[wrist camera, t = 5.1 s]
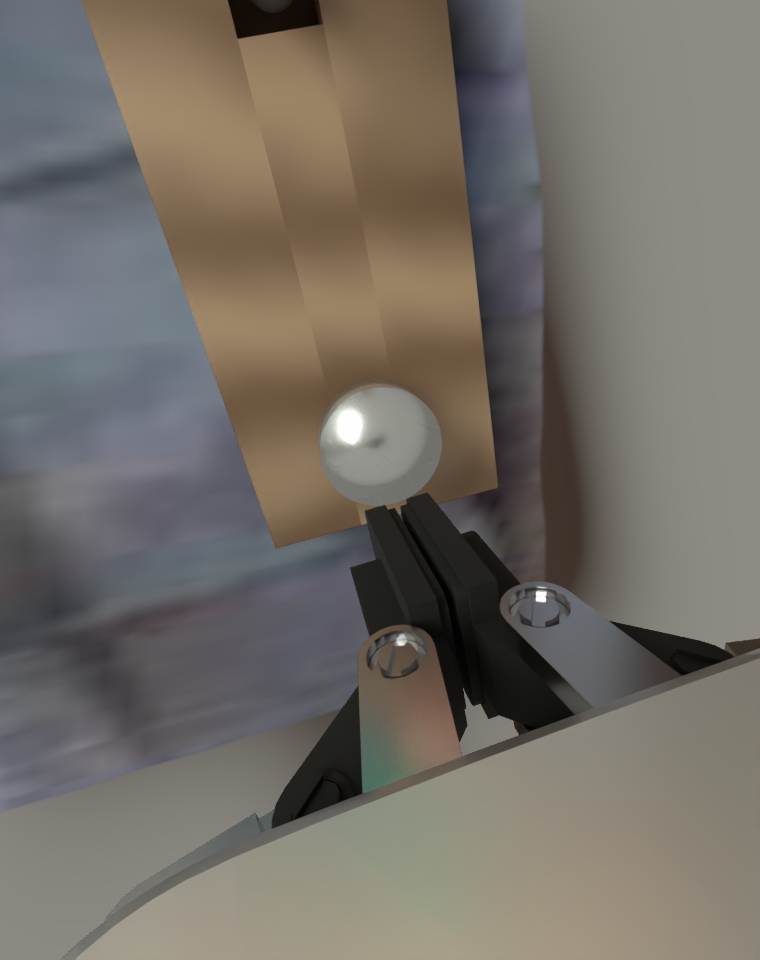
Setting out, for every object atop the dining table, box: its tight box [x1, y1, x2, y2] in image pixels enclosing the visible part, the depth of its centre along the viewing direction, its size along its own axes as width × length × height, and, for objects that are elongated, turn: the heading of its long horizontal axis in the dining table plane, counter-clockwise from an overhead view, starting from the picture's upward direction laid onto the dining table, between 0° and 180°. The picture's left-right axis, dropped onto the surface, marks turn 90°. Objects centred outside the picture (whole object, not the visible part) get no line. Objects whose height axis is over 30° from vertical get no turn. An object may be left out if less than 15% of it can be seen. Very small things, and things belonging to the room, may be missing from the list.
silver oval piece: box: [317, 379, 442, 506], centre depth 22 cm, size 5×5×7 cm
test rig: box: [81, 0, 498, 548], centre depth 21 cm, size 26×12×5 cm, turn 12°
